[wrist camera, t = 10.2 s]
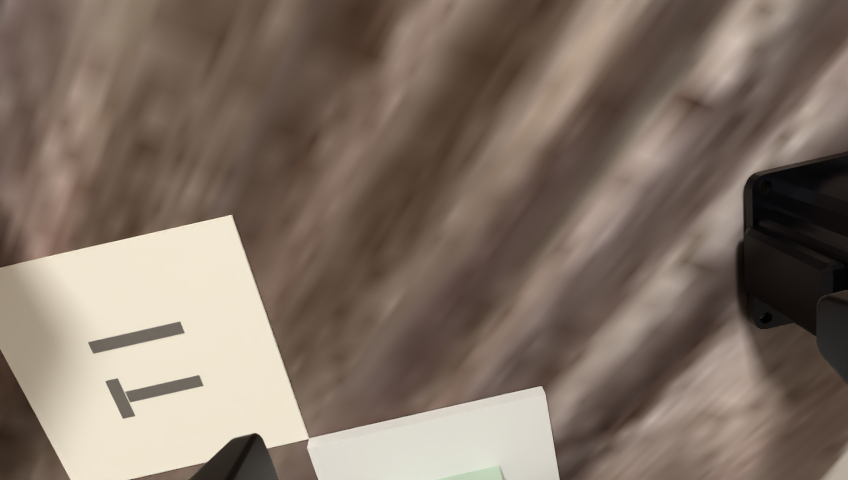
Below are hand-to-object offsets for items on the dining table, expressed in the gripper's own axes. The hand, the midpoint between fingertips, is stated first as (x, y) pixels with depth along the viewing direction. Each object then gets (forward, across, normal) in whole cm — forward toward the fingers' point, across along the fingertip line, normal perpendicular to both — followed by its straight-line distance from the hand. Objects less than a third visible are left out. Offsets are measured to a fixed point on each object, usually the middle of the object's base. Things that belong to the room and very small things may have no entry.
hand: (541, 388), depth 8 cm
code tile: (+12, +13, +4) cm, 18 cm away
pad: (+12, +3, +14) cm, 19 cm away
